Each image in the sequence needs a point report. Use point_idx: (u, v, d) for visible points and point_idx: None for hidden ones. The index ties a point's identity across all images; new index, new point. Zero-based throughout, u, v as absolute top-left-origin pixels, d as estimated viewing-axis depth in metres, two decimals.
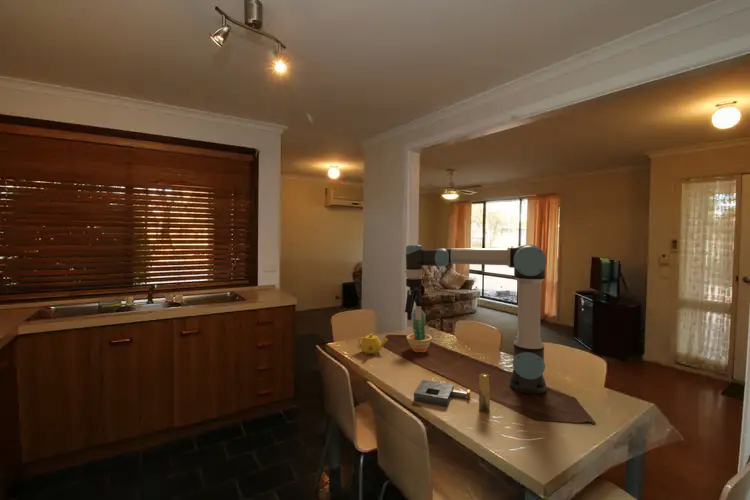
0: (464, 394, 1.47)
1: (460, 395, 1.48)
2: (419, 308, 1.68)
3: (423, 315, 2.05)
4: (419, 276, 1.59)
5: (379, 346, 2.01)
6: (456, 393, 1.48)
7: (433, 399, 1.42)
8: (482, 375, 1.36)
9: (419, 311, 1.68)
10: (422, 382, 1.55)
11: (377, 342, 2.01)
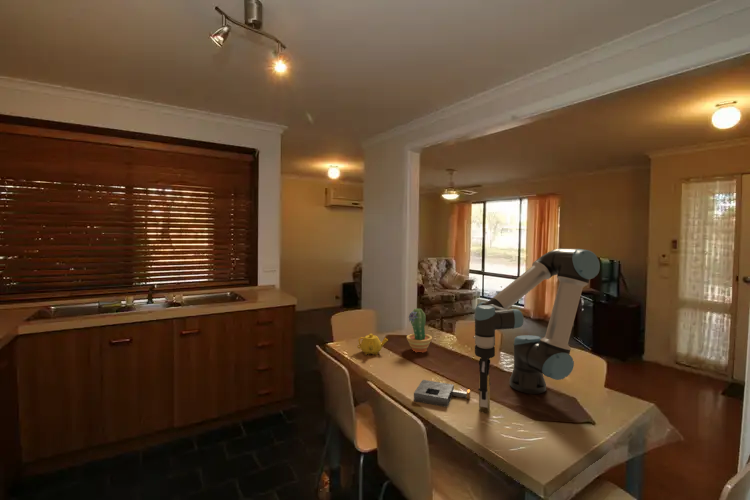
0: (464, 394, 1.47)
1: (460, 395, 1.48)
2: None
3: (423, 315, 2.05)
4: (492, 345, 1.33)
5: (379, 346, 2.01)
6: (456, 393, 1.48)
7: (433, 399, 1.42)
8: None
9: None
10: (422, 382, 1.55)
11: (377, 342, 2.01)
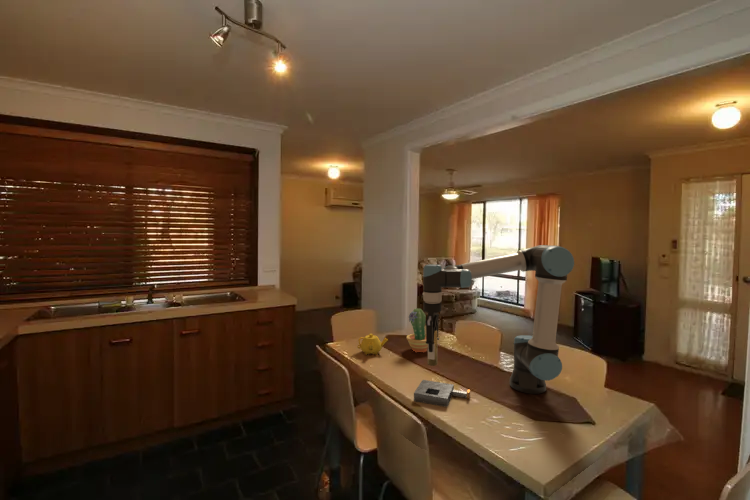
0: (464, 394, 1.47)
1: (460, 395, 1.48)
2: None
3: (423, 315, 2.05)
4: (438, 300, 1.41)
5: (379, 346, 2.01)
6: (456, 393, 1.48)
7: (433, 399, 1.42)
8: None
9: None
10: (422, 382, 1.55)
11: (377, 342, 2.01)
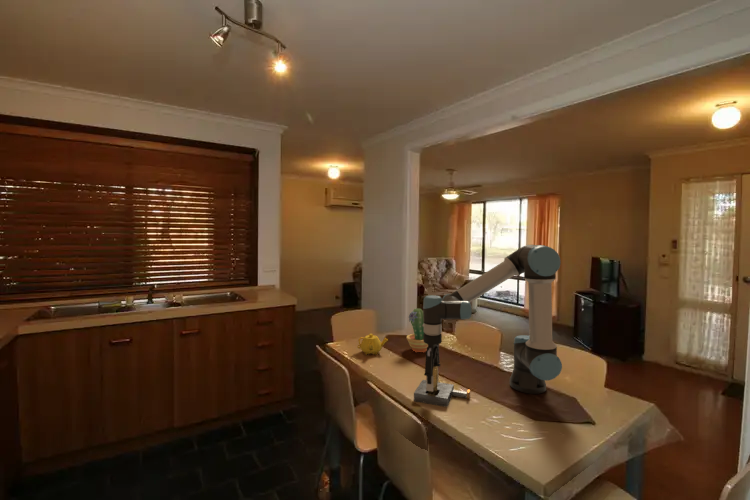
0: (464, 394, 1.47)
1: (460, 395, 1.48)
2: None
3: None
4: (438, 332, 1.42)
5: (379, 346, 2.01)
6: (456, 393, 1.48)
7: (433, 399, 1.42)
8: None
9: None
10: (422, 382, 1.55)
11: (377, 342, 2.01)
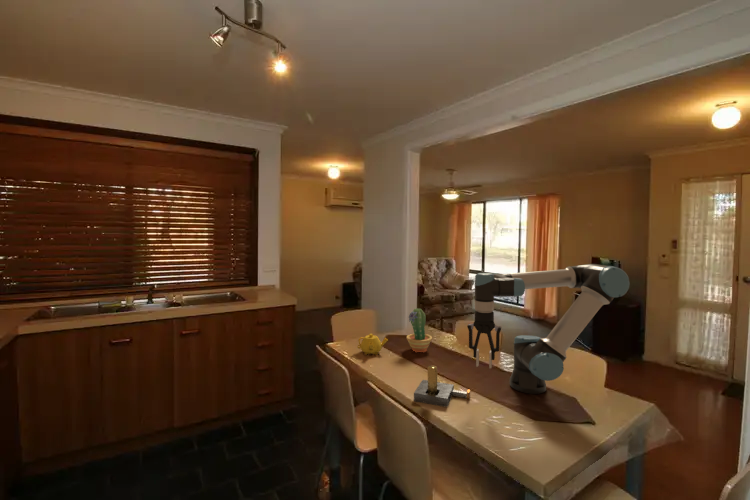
0: (464, 394, 1.47)
1: (460, 395, 1.48)
2: None
3: (423, 315, 2.05)
4: (478, 309, 1.41)
5: (379, 346, 2.01)
6: (456, 393, 1.48)
7: (433, 399, 1.42)
8: (430, 367, 1.45)
9: None
10: (422, 382, 1.55)
11: (377, 342, 2.01)
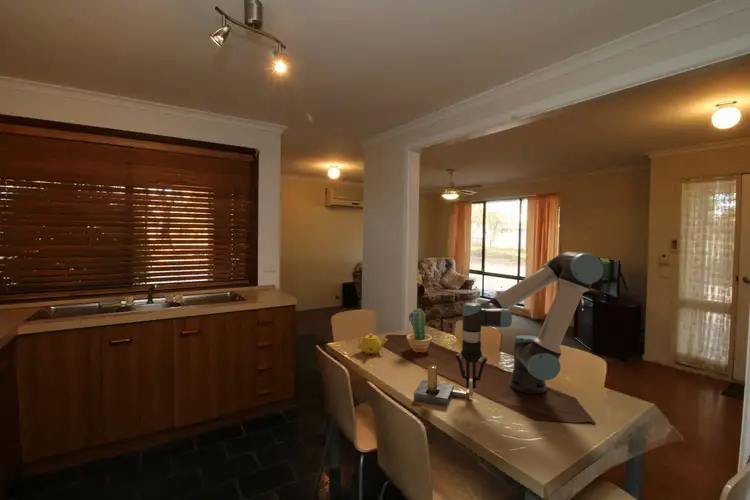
0: (463, 394, 1.47)
1: (459, 395, 1.48)
2: None
3: (423, 315, 2.05)
4: (465, 339, 1.43)
5: (379, 346, 2.01)
6: (455, 393, 1.48)
7: (433, 399, 1.42)
8: (430, 367, 1.46)
9: None
10: (422, 382, 1.55)
11: (377, 342, 2.01)
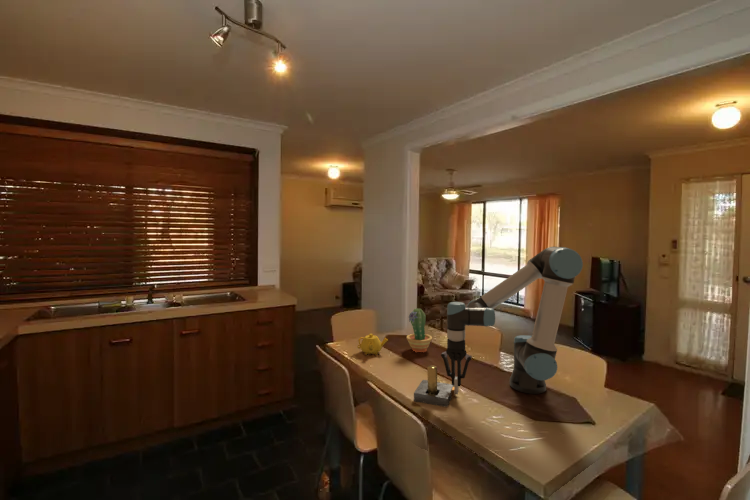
0: None
1: None
2: None
3: (423, 315, 2.05)
4: (450, 337, 1.46)
5: (379, 346, 2.01)
6: None
7: (433, 399, 1.42)
8: (430, 367, 1.45)
9: None
10: (422, 382, 1.55)
11: (377, 342, 2.01)
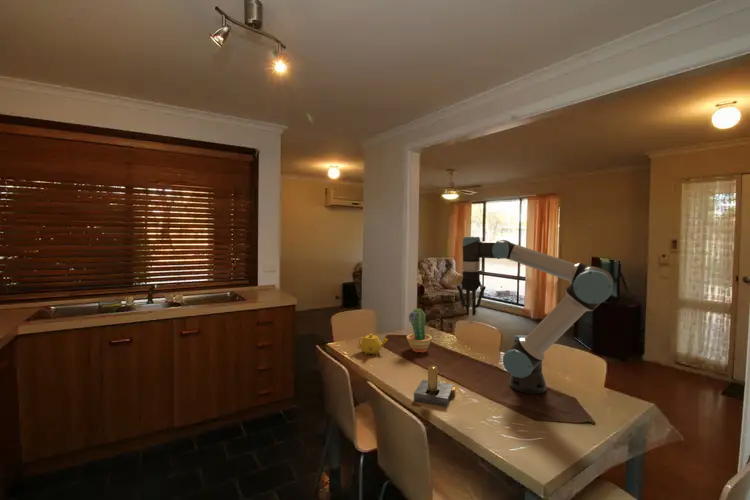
0: None
1: None
2: None
3: (423, 315, 2.05)
4: (465, 268, 1.55)
5: (379, 346, 2.01)
6: None
7: (433, 399, 1.42)
8: (430, 367, 1.45)
9: None
10: (422, 382, 1.55)
11: (377, 342, 2.01)
